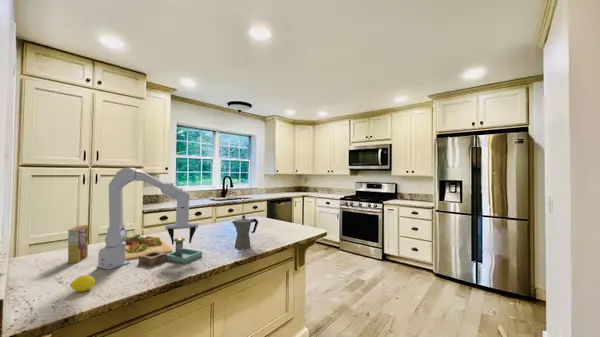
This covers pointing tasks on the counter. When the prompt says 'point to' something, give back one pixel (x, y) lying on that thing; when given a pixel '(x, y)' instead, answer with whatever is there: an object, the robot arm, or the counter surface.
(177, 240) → the pin
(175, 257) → the tray
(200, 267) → the counter surface
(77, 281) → the lemon
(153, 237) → the cutting board
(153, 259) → the block
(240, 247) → the coffeepot
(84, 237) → the candy box
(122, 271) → the counter surface
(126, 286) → the counter surface
